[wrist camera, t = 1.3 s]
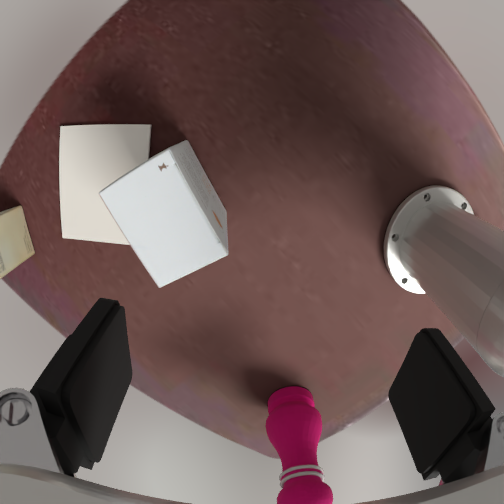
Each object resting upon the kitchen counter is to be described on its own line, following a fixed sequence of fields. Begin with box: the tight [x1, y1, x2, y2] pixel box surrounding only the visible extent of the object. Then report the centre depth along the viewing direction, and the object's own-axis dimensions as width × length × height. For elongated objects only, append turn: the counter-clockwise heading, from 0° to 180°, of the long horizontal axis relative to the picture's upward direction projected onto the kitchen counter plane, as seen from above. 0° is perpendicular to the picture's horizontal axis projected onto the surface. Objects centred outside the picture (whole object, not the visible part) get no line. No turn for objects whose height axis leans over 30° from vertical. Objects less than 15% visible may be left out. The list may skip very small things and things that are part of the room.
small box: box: [99, 140, 228, 288], centre depth 24 cm, size 8×6×10 cm
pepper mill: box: [266, 386, 333, 504], centre depth 31 cm, size 7×7×20 cm
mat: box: [59, 124, 152, 245], centre depth 29 cm, size 10×12×1 cm
